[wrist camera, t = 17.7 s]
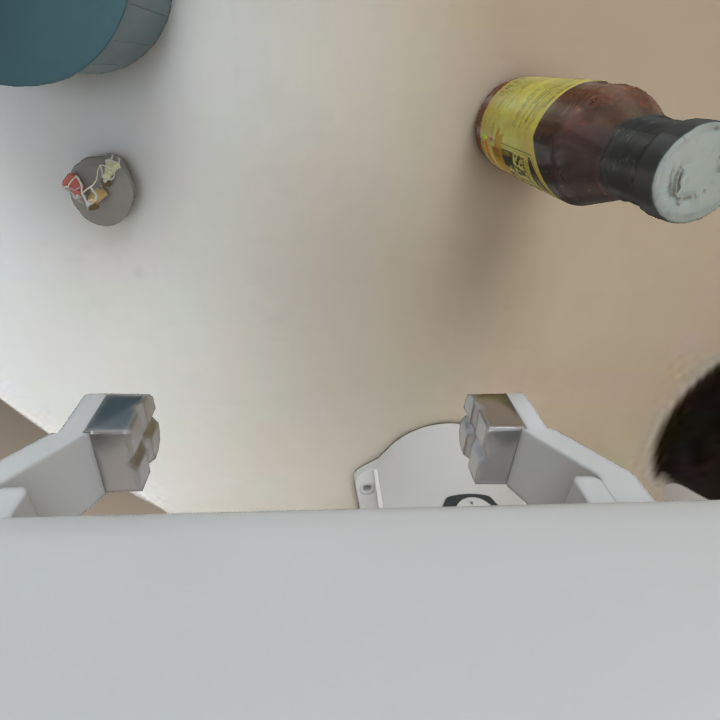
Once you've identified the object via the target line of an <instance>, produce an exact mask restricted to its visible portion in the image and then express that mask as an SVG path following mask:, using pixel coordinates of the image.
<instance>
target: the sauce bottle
mask: <svg viewBox="0 0 720 720" xmlns="http://www.w3.org/2000/svg"><path fill="white" fill-rule="evenodd" d="M476 134H477V135H476V136H477V141H478V145H479V147H480V149H481V150H482V152H483V153H484V154H485V155H486V157H487V158H488V159H489V160H490V162H491V163H492V164H494V165H495V166H496V167H498V168H500V169H502V170H504V171H506V172H507V173H509V174H511V175H513V176H515V177H517V178H519V179H521V180H522V181H524V182H526V183H529V184H530V185H532V186H535V187H536V188H538V189H540V190H542V191H544V192H546V193H548V194H550V195H552V196H554V197H556V198H558V199H560V200H562V201H564V202H566V203H569V204H572V205H577V206H585V205H592V204H598V203H604V202H610V201H617V200H622V201H624V202H627V201H629V202H631V203H633V204H635V205H638V206H640V209H642V210H643V211H644V212H646V213H647V214H648V215H651V216H653V217H655V218H658V219H662V220H664V221H667V222H671V223H687V222H692V221H695V220H699V219H701V218H703V217H704V216H706V215H708V214H710V213H711V212H713V211H714V210H716V209H717V208H718V207H719V206H720V121H717V120H711V119H699V118H695V119H688V120H684V121H681V120H674V119H671V118H669V117H667V116H665V115H664V114H663V112H662V110H661V108H660V106H659V105H658V104H657V102H656V101H655V100H654V99H653V98H652V97H651V96H650V95H648V94H647V93H646V92H645V91H643V90H641V89H639V88H637V87H633V86H629V85H627V84H611V83H610V84H609V83H608V82H606V81H599V80H586V79H570V78H556V77H540V76H527V77H521V78H518V79H514V80H511V81H508V82H505V83H503V84H501V85H499V86H498V87H496V88H495V89H494V90H493V92H492V93H491V94H490V95H489V96H488V97H487V99H486V100H485V101H484V103H483V104H482V107H481V109H480V111H479V113H478V117H477V121H476Z"/></svg>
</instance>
